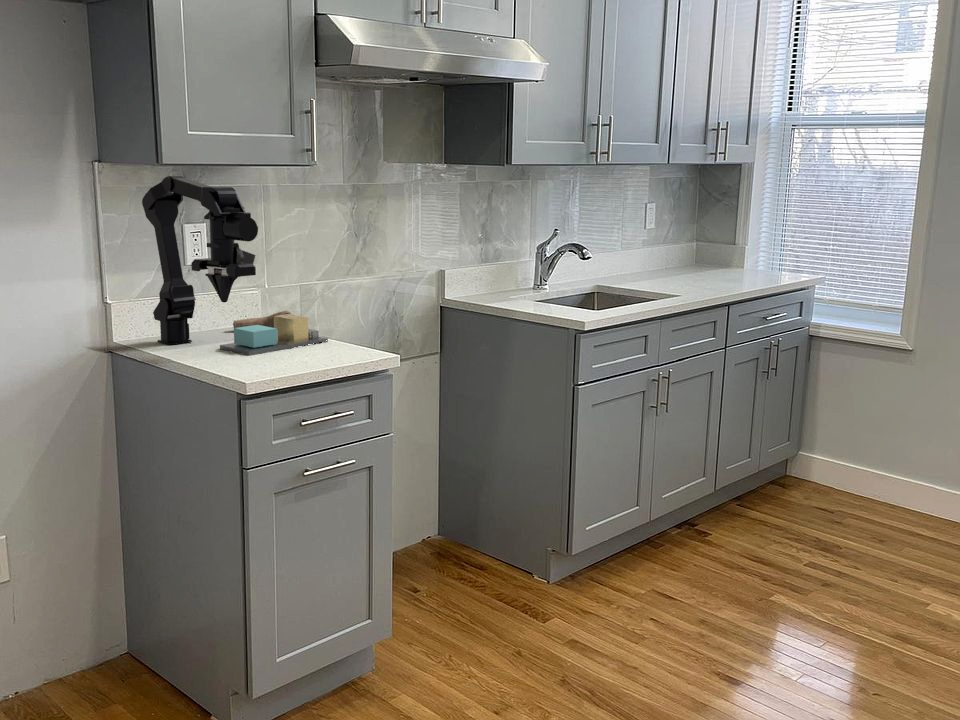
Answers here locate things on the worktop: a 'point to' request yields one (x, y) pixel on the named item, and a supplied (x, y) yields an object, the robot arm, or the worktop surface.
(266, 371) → the worktop surface
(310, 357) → the worktop surface
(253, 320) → the pipe
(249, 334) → the slide jaw
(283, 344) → the vise
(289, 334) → the brass block
